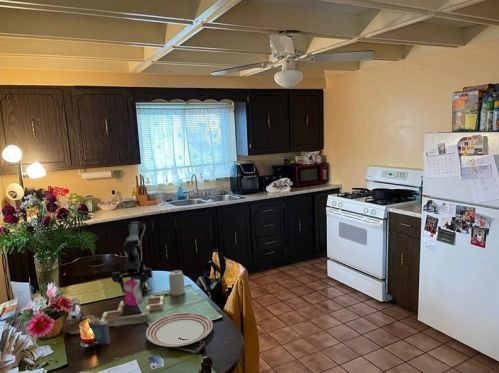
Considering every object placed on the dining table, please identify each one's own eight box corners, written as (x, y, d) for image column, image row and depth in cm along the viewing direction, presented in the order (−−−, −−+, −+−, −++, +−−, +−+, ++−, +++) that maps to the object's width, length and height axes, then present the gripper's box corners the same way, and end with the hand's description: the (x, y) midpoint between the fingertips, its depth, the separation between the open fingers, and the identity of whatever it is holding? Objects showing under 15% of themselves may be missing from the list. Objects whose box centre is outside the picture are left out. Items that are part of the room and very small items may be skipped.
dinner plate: (209, 314, 174) (208, 307, 173) (216, 345, 147) (216, 338, 146) (148, 324, 168) (147, 317, 167) (145, 358, 141) (144, 350, 141)
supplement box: (133, 300, 185) (131, 278, 183) (142, 302, 182) (140, 279, 181) (125, 305, 180) (122, 282, 178) (134, 307, 177) (131, 284, 175)
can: (186, 290, 201) (184, 269, 200) (182, 296, 194) (180, 274, 192) (173, 290, 202) (171, 269, 201) (168, 296, 195) (166, 274, 193)
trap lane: (108, 307, 187) (108, 301, 187) (163, 299, 192) (163, 294, 191) (100, 328, 166) (99, 322, 166) (162, 319, 171) (161, 313, 170)
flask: (111, 341, 155) (108, 317, 153) (107, 345, 152) (103, 320, 150) (92, 339, 157) (89, 315, 156) (88, 343, 154) (84, 319, 153)
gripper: (109, 256, 180) (108, 287, 171) (149, 252, 183) (150, 282, 174) (114, 266, 189) (113, 296, 180) (152, 262, 192) (153, 291, 183)
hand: (132, 291), depth 179 cm, fingers closed on supplement box, 8 cm apart
